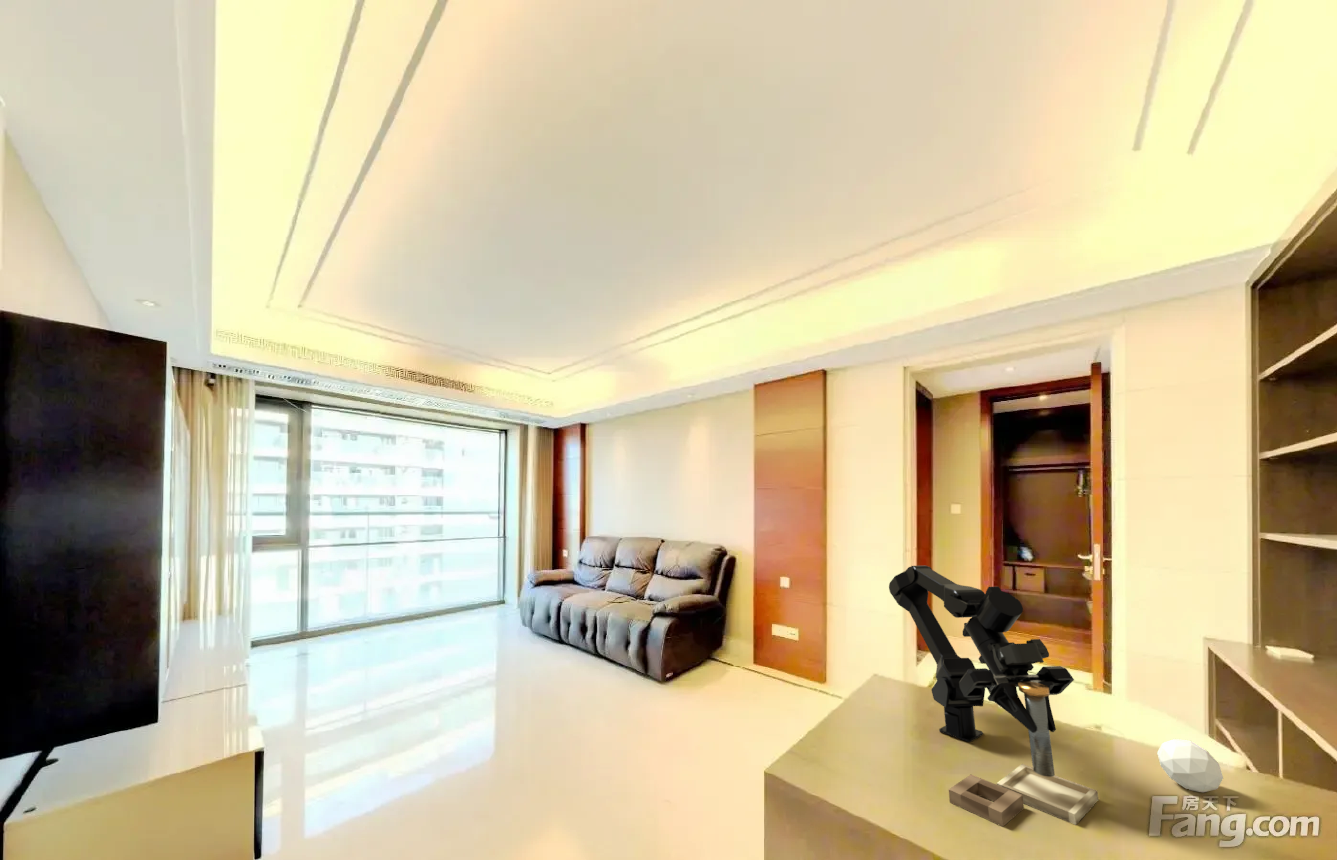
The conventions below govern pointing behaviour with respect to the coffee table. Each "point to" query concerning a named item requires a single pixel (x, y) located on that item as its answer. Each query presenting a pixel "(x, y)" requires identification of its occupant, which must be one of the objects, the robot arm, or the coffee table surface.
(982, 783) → the block
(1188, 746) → the geometric ball
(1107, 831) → the coffee table surface
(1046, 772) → the pin
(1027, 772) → the tray
